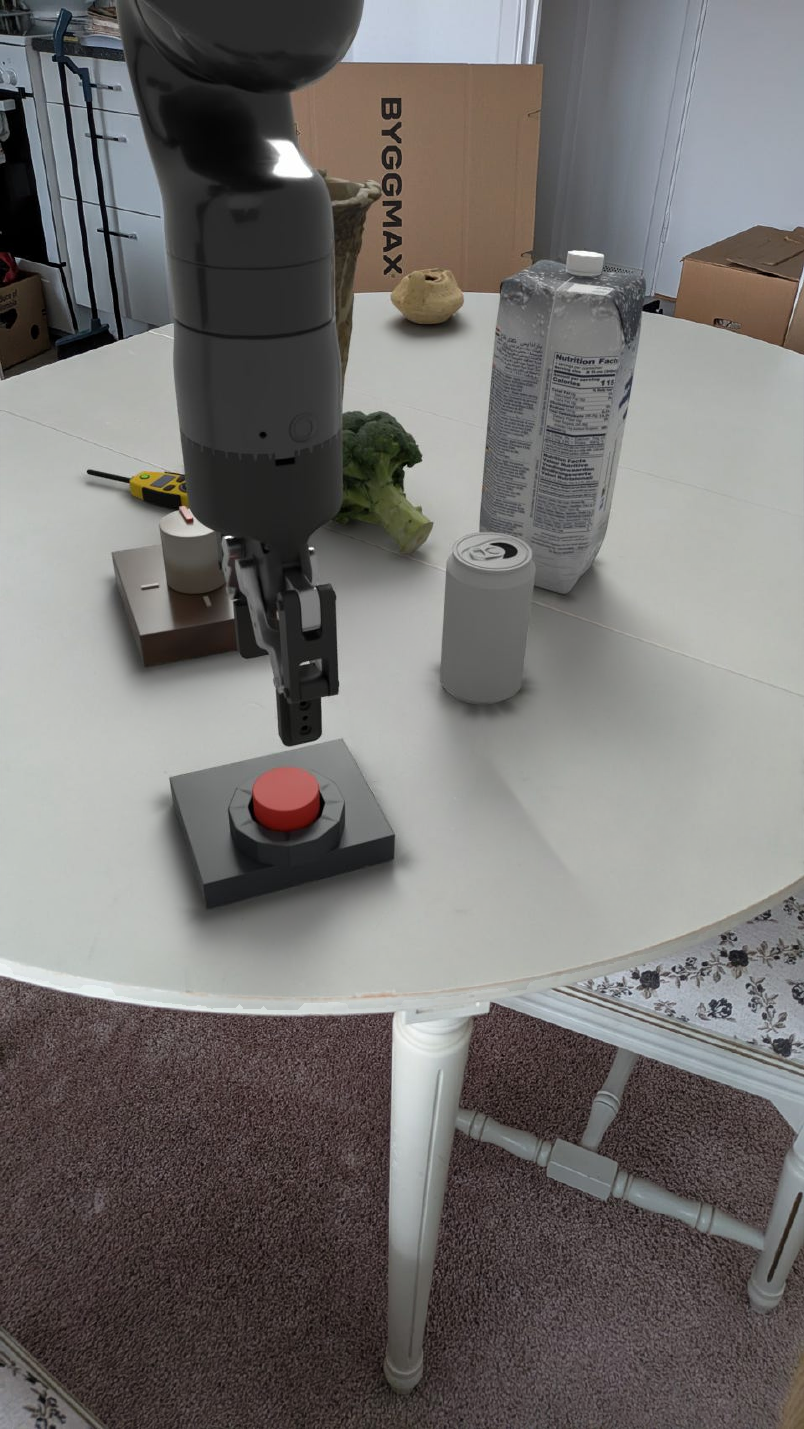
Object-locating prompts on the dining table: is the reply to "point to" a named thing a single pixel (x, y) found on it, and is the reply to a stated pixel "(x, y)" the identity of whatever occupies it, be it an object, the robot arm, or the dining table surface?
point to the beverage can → (486, 617)
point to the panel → (171, 611)
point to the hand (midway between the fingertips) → (277, 694)
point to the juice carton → (559, 409)
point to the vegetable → (380, 477)
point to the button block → (262, 860)
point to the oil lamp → (428, 296)
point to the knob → (189, 553)
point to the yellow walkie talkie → (154, 487)
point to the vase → (347, 249)
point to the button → (286, 799)
